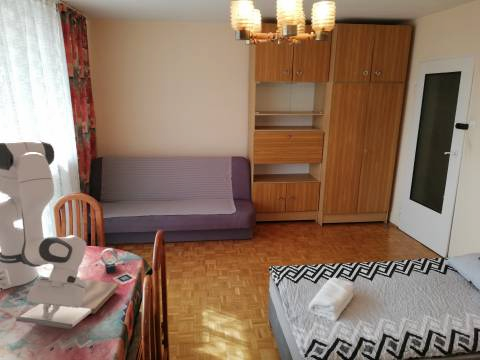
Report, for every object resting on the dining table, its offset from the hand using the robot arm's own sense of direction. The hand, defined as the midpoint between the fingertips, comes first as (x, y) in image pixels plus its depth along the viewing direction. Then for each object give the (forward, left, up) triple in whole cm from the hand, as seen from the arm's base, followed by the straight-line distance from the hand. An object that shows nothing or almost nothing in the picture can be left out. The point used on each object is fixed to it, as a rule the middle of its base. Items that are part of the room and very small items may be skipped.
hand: (46, 318), depth 119 cm
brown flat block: (0, +20, -7) cm, 21 cm away
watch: (-3, +46, -7) cm, 47 cm away
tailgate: (0, +10, -3) cm, 11 cm away
